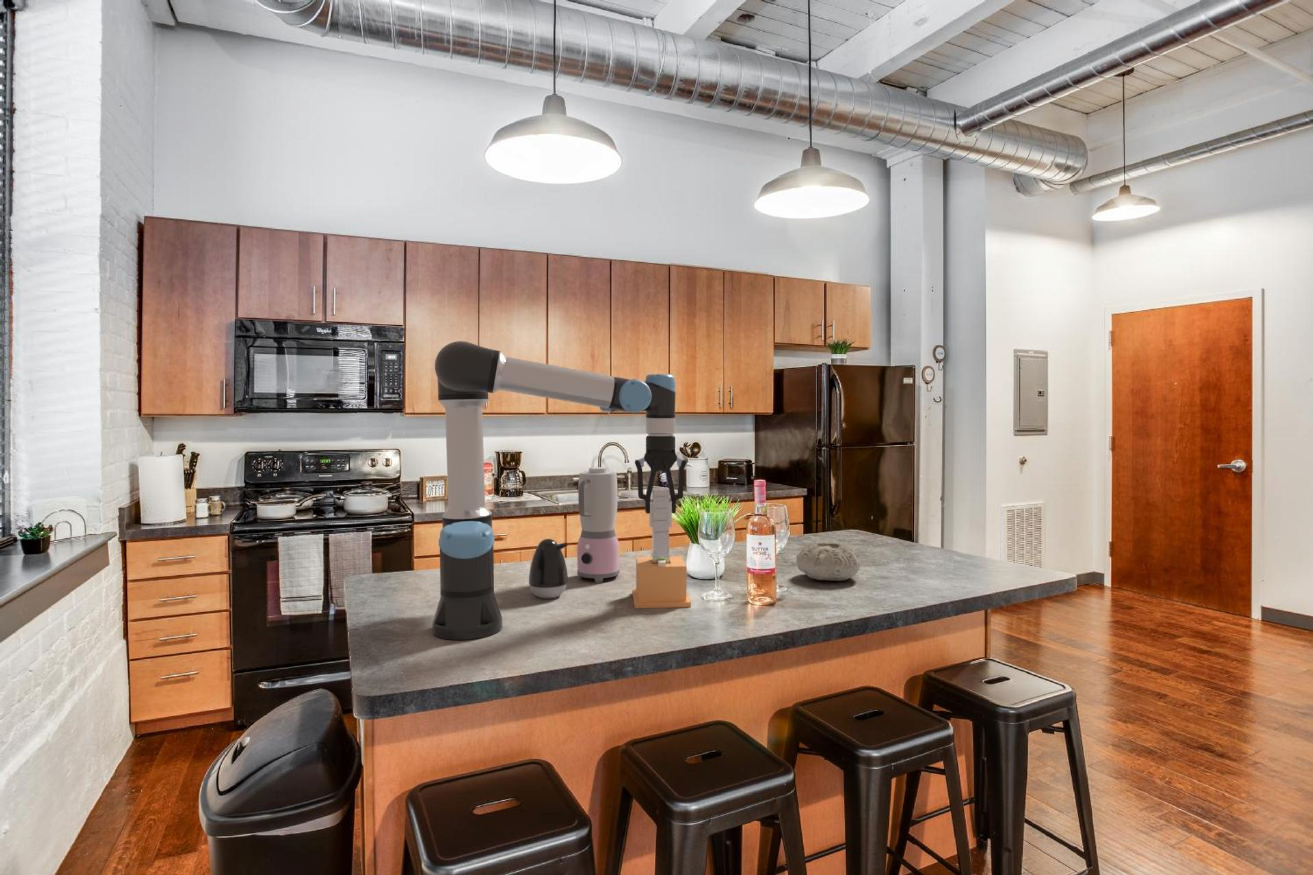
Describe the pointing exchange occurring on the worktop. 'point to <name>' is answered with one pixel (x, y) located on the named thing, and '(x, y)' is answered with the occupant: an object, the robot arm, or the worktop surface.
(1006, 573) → the worktop surface
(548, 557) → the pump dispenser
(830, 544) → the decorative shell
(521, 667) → the worktop surface
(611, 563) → the blender
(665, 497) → the column
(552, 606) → the worktop surface
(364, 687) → the worktop surface
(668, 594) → the housing
